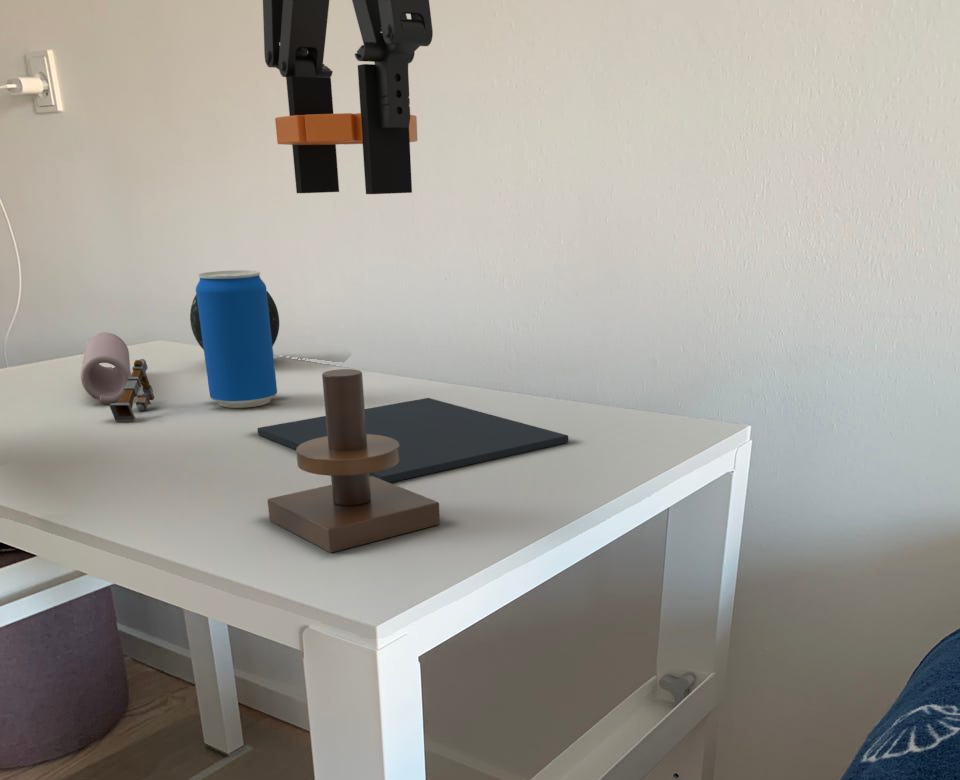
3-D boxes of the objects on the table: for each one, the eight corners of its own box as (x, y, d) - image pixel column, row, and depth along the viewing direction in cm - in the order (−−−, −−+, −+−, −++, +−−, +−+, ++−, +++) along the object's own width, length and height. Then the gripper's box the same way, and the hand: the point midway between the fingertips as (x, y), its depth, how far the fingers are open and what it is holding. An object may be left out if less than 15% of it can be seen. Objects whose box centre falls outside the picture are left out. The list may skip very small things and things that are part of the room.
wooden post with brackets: (162, 392, 99) (149, 352, 96) (142, 442, 94) (127, 403, 91) (145, 392, 99) (131, 352, 96) (123, 443, 94) (108, 403, 91)
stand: (269, 520, 65) (251, 372, 61) (373, 496, 69) (363, 356, 65) (330, 553, 59) (316, 391, 55) (440, 524, 64) (434, 372, 60)
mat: (257, 434, 86) (256, 427, 86) (428, 403, 96) (428, 397, 96) (382, 484, 72) (381, 476, 72) (568, 442, 82) (568, 435, 82)
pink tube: (79, 335, 112) (74, 361, 96) (122, 327, 113) (123, 352, 97) (92, 377, 114) (88, 408, 98) (134, 369, 115) (136, 399, 100)
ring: (258, 145, 61) (256, 119, 61) (371, 144, 65) (369, 120, 65) (321, 141, 55) (319, 112, 55) (440, 140, 60) (439, 113, 59)
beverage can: (288, 403, 98) (275, 273, 93) (225, 412, 95) (208, 278, 89) (262, 392, 103) (248, 268, 97) (201, 401, 99) (183, 273, 94)
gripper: (498, -348, 46) (503, 191, 56) (291, -216, 61) (324, 190, 71) (357, -393, 42) (389, 196, 52) (173, -240, 57) (225, 194, 67)
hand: (351, 192), depth 62 cm, fingers closed on ring, 8 cm apart
